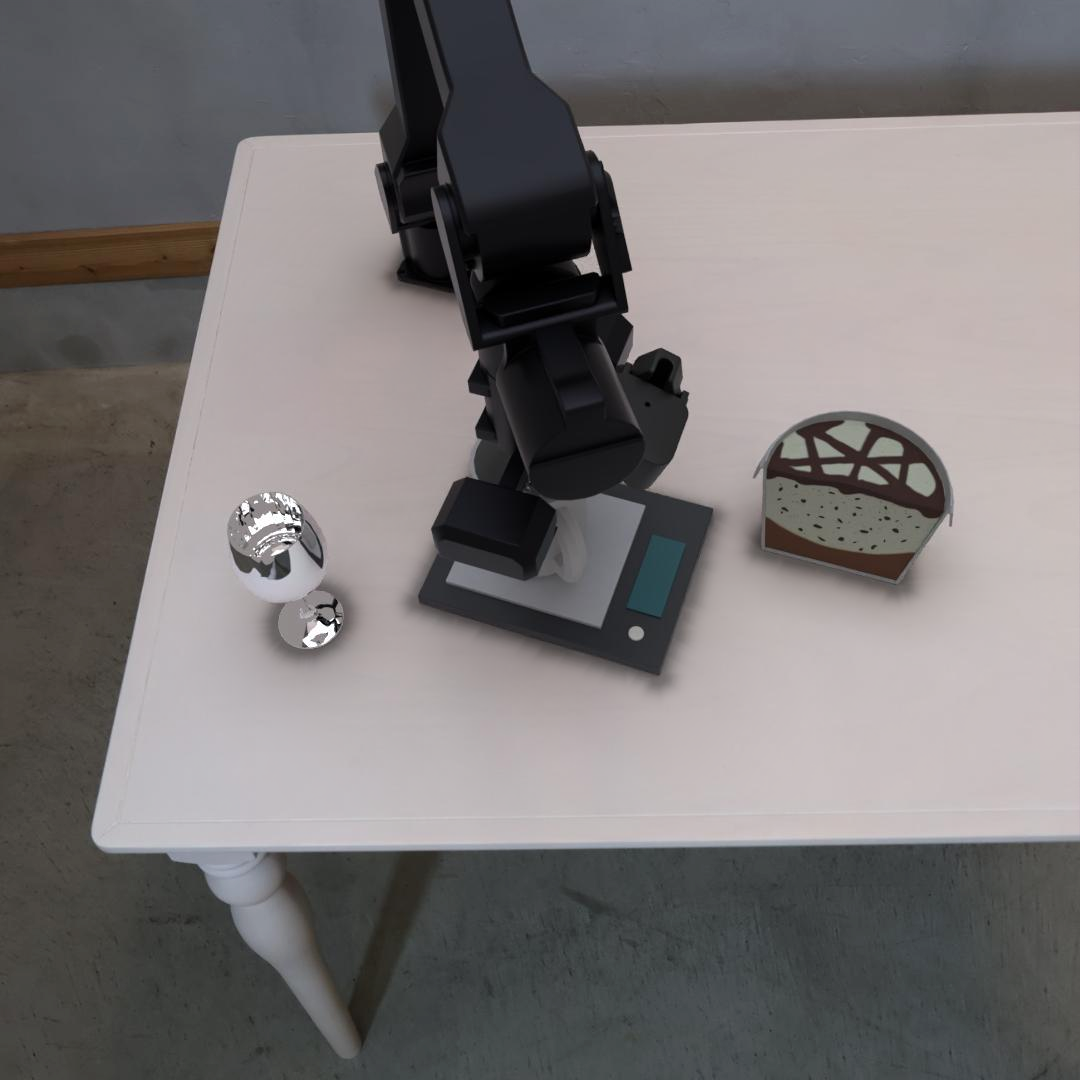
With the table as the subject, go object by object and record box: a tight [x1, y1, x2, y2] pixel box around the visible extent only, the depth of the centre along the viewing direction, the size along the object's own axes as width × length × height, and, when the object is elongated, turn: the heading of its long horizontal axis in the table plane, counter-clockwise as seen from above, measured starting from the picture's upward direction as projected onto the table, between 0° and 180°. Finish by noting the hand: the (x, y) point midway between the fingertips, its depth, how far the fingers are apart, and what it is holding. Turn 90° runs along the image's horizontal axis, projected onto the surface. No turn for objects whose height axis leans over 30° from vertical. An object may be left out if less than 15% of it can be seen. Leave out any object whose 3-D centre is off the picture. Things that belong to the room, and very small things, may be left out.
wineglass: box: [226, 491, 345, 650], centre depth 71 cm, size 6×6×12 cm
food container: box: [752, 410, 955, 585], centre depth 74 cm, size 12×6×10 cm, turn 71°
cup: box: [469, 438, 588, 583], centre depth 73 cm, size 7×10×9 cm
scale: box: [417, 483, 714, 676], centre depth 77 cm, size 17×13×1 cm
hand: (544, 508), depth 73 cm, fingers open, 9 cm apart
